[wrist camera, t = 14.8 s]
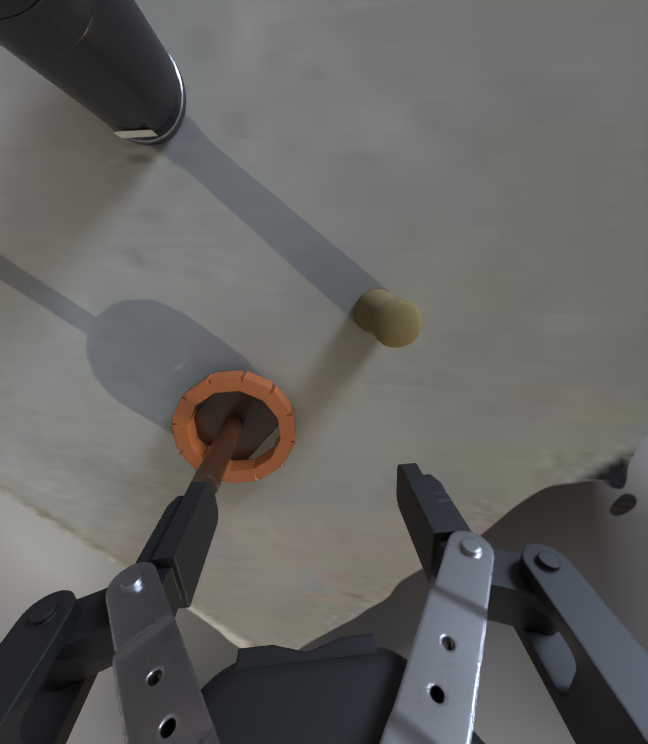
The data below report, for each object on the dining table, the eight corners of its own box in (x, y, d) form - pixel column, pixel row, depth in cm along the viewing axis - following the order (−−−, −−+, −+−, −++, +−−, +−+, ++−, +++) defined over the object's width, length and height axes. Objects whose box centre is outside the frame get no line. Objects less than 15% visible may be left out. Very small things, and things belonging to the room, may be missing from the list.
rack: (187, 423, 44) (133, 493, 30) (227, 374, 42) (189, 425, 28) (243, 460, 46) (217, 539, 33) (283, 415, 44) (273, 480, 31)
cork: (356, 336, 41) (373, 358, 31) (352, 291, 39) (369, 298, 29) (399, 331, 41) (431, 351, 31) (398, 285, 39) (431, 291, 29)
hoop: (165, 447, 43) (157, 458, 41) (203, 351, 39) (196, 356, 37) (268, 484, 46) (266, 496, 44) (313, 399, 42) (313, 407, 40)
